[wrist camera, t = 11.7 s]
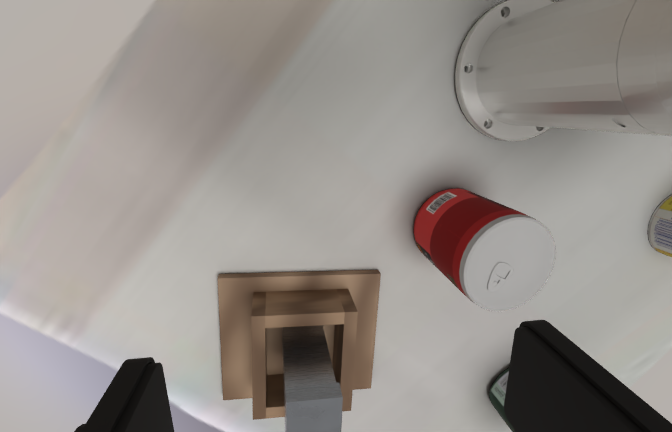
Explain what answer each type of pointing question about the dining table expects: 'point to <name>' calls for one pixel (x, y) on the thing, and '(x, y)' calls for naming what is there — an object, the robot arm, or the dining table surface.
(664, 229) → the canned food
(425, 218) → the canned food
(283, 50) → the dining table surface
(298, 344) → the grey boxy piece
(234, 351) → the well block
